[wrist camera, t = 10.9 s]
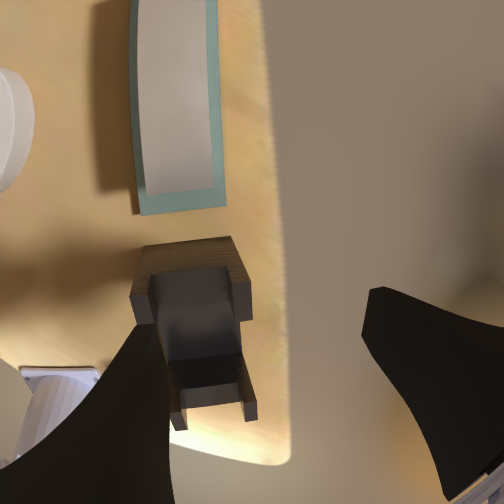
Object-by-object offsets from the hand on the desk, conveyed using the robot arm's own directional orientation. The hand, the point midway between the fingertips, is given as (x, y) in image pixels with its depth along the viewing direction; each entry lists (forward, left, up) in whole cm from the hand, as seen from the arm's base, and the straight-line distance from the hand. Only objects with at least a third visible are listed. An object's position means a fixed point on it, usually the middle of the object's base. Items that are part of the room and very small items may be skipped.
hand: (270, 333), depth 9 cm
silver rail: (+10, +3, -9) cm, 13 cm away
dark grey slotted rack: (-5, +3, -9) cm, 11 cm away
